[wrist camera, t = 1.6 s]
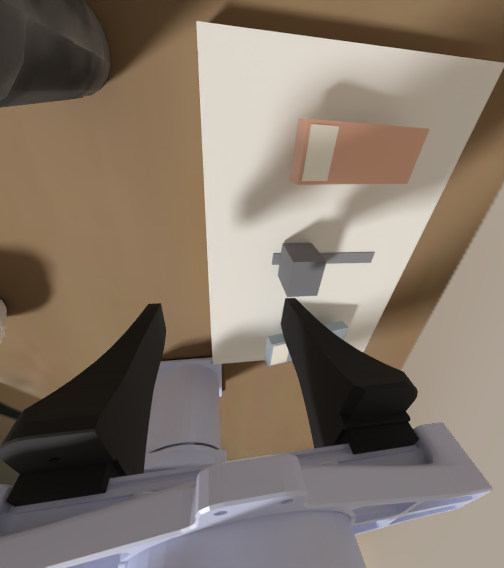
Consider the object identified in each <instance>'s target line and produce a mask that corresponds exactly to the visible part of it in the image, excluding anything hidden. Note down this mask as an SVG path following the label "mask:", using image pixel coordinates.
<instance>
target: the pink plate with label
mask: <svg viewBox="0 0 504 568" xmlns="http://www.w3.org/2000/svg"><path fill="white" fill-rule="evenodd" d="M428 132H429V129H427V128H415V127H403V126H391V125H378V124H366V123H354V122H342V121H330V120H318V119H304V118H299V119H298V126H297V133H296V140H295V147H294V154H293V161H292V168H291V175H290V181H291V182H293V183H295V184H297V185H324V184H408V181H409V179H410V176H411V174H412V171H413V169H414V166H415V164H416V161H417V159H418V157H419V154H420V152H421V149H422V147H423V144H424V142H425V139H426V137H427V134H428Z"/></svg>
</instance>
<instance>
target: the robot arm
mask: <svg viewBox="0 0 504 568" xmlns="http://www.w3.org/2000/svg"><path fill="white" fill-rule="evenodd" d="M281 328H282V332H283V336H284V340H285V343H286V346H287V348H288V351H289V354H290V356H291V359H292V362H293V364H294V367H295V370H296V372H297V375H298V378H299V382H300V386H301V390H302V394H303V398H304V402H305V406H306V410H307V415H308V419H309V424H310V428H311V433H312V439H313V444H314V449H307V450H300V451H294V452H287V453H280V454H272V455H265V456H258V457H251V458H244V459H237V460H231V461H227V460H226V450H221V430H220V403H219V397H220V396H222V364H213V359H212V357H209V358H197V359H184V360H171V361H161V358H162V354H163V350H164V345H165V336H166V327H165V322H164V317H163V312H162V307H161V303H159V304H148V305H147V307H146V308H145V309H144V311H143V312H142V313H141V314H140V316H139V317H138V318H137V319H136V321H135V322H134V323H133V324H132V325H131V326H130V328H129V329H128V330H127V331H126V332H125V333H124V334H123V336H122V337H121V338H120V339H119V340H118V341H117V342H116V343H115V344H114V345H113V346H112V347H111V348H110V349H109V350H108V351H107V352H106V353H105V354H103V355H102V356H101V357H100V358H99V359H98V360H97V361H95V362H94V363H93V364H92V365H91V366H89V367H88V368H87V369H85V370H84V371H83V372H82V373H80V374H79V375H78V376H76V377H75V378H74V379H72V380H71V381H69V382H68V383H66V384H65V385H64V386H62V387H61V388H59V389H58V390H56V391H55V392H53V393H51V394H50V395H48V396H47V397H45V398H43V399H42V400H40V401H38V402H37V403H35V404H33V405H32V406H30V407H28V408H27V409H25V410H24V411H23V412H22V413H21V415H20V416H19V418H18V419H17V420H16V422H15V424H14V425H13V427H12V429H11V430H10V432H9V434H8V435H7V437H6V438H5V440H4V441H3V443H2V445H1V446H0V458H1V459H2V460H3V461H4V462H5V463H6V464H8V465H9V466H10V467H12V468H13V469H14V470H15V471H17V472H18V473H19V474H20V475H19V477H18V479H17V481H16V483H15V485H14V487H12V486H9V485H4V484H0V568H366V566H365V563H364V560H363V557H362V555H361V552H360V549H359V546H358V543H357V540H356V537H355V535H357V534H360V533H364V532H368V531H371V530H375V529H379V528H383V527H386V526H390V525H394V524H397V523H401V522H405V521H408V520H413V519H416V518H420V517H425V516H429V515H432V514H437V513H442V512H446V511H450V510H455V509H458V508H460V507H462V506H464V505H466V504H468V503H470V502H472V501H473V500H475V499H477V498H479V497H481V496H483V495H485V494H487V493H489V492H491V491H492V490H493V489H492V487H491V485H490V484H489V482H488V481H487V480H486V479H485V477H484V476H483V475H482V473H481V472H480V471H479V469H478V468H477V467H476V465H475V464H474V463H473V462H472V460H471V459H470V458H469V456H468V455H467V454H466V453H465V451H464V450H463V448H462V447H461V446H460V444H459V443H458V442H457V441H456V439H455V438H454V437H453V435H452V434H451V433H450V431H449V430H448V429H447V427H446V426H445V425H444V423H441V422H440V423H432V424H425V425H420V426H418V427H416V428H415V429H412V427H411V426H410V424H409V423H408V421H410V417H409V415H408V414H407V412H406V410H407V409H408V408H409V407H410V405H411V404H412V403H413V402H414V400H415V399H416V397H417V393H418V391H417V389H416V387H415V386H414V385H413V384H412V382H411V381H410V380H409V378H408V377H407V376H406V374H405V373H404V372H402V371H400V370H398V369H396V368H393V367H391V366H389V365H386V364H384V363H382V362H380V361H378V360H376V359H374V358H372V357H370V356H369V355H367V354H365V353H363V352H361V351H360V350H358V349H356V348H355V347H353V346H352V345H350V344H348V343H347V342H345V341H344V340H343V339H341V338H340V337H338V336H337V335H336V334H334V333H333V332H332V331H331V330H329V329H328V328H327V327H326V326H324V325H323V324H322V323H321V322H320V321H319V320H318V319H316V318H315V317H314V316H313V315H312V314H311V313H310V312H309V311H308V310H307V309H306V308H305V307H304V306H303V305H302V304H301V303H300V302H299V301H298V300H297V299H296V298H285V302H284V307H283V313H282V318H281Z"/></svg>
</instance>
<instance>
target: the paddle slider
mask: <svg viewBox="0 0 504 568" xmlns="http://www.w3.org/2000/svg"><path fill="white" fill-rule="evenodd" d="M326 262H327V261H326V260H325V259H324V258H323V256H322V255H321V254H320V253H319V251H318V250H317V249H316V248H315V247H314V245H313V244H312V243H282V250H281V256H280V263H279V270H278V277H279V280H280V282H281V284H282V287H283V289H284V291H285V294H286V296H287V297H300V296H317V295H318V291H319V287H320V284H321V280H322V277H323V273H324V269H325V266H326Z"/></svg>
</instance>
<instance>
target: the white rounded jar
mask: <svg viewBox="0 0 504 568" xmlns="http://www.w3.org/2000/svg"><path fill="white" fill-rule="evenodd" d="M6 314H7V309H6V306H5V303H3V301H2V300H0V345H1V342H2V339H3V336H5V329H6Z"/></svg>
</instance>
